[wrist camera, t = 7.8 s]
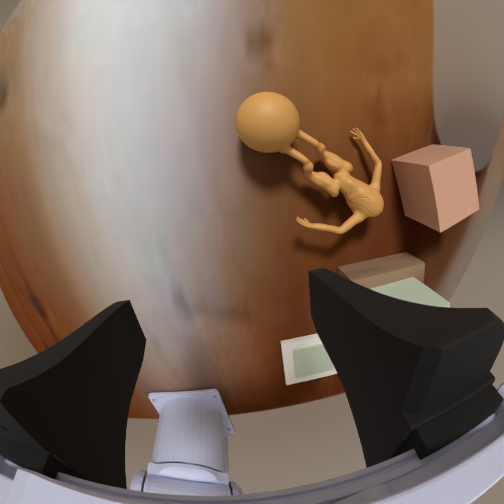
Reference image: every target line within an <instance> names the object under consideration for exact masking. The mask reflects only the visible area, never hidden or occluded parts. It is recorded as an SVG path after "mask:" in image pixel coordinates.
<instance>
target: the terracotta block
mask: <svg viewBox="0 0 504 504" xmlns="http://www.w3.org/2000/svg"><path fill="white" fill-rule="evenodd" d="M391 162H392V165H393V169H394V172H395V176H396V180H397V184H398V187H399V191H400V196H401V200H402V204H403V209H404V213H405V216H407V217H409V218H411V219H413V220H416V221H418V222H420V223H422V224H424V225H426V226H428V227H430V228H432V229H434V230H436V231H438V232H440V233H441V232H442V231H444V230H446V229H448V228H449V227H451V226H453V225H454V224H456V223H458V222H459V221H461V220H463V219H464V218H466V217H468V216H469V215H471V214H472V213H474V212H476V211H477V210H479V203H478V194H477V186H476V178H475V172H474V166H473V160H472V155H471V150H470V149H469V148H462V147H453V146H443V145H429V146H427V147H424V148H421V149H419V150H416V151H413V152H411V153H408V154H405V155H403V156H400V157H398V158H395V159H392V160H391Z"/></svg>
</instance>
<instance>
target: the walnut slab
mask: <svg viewBox="0 0 504 504" xmlns="http://www.w3.org/2000/svg"><path fill="white" fill-rule="evenodd" d="M424 269H425V263H424V262H423V261H421V260H419V259H418V258H416V257H414V256H412V255H411V254H409V253H407V252H404V253H399V254H395V255H390V256H386V257H381V258H376V259H372V260H367V261H362V262H358V263H353V264H348V265H343V266H338V275H340V276H342V277H344V278H346V279H348V280H351V281H353V282H355V283H357V284H359V285H362V286H364V287H366V288H369V289H371V288H375V287H378V286H382V285H386V284H389V283H393V282H397V281H400V280H404V279H407V278H411V277H414V278H416V279H417V280H419V281H420V282H422V283H423V281H424Z"/></svg>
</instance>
